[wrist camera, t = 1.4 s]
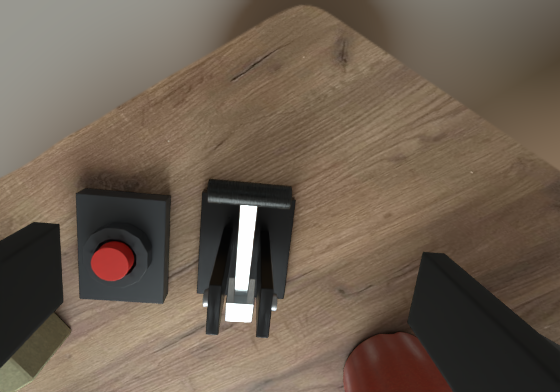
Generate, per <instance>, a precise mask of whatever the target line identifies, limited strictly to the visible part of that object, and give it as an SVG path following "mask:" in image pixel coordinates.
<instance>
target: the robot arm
mask: <svg viewBox="0 0 560 392" xmlns="http://www.w3.org/2000/svg"><path fill="white" fill-rule="evenodd" d="M62 303H63V285H62V266H61V246H60V227H59V224H52V223H39V222H33V223H31V224H30V225H28V226H26V227H24V228H22V229H21V230H19V231H17V232H15V233H14V234H12V235H10V236H8V237H6V238H5V239H3V240H1V241H0V368H1V367H2V366H3V365H4V364H5V363H6V362H7V361H8V360H9V359H10V358H11V357H12V356H13V355H14V354H15V352H16V351H17V350H18V349H19V348H20V347H21V346H22V345H23V344H24V343H25V342H26V341H27V340H28V339H29V338H30V337H31V336H32V335H33V333H34V332H35V331H36V330H37V329H38V328H39V327H40V326H41V325H42V324H43V323H44V322H45V321H46V320H47V319H48V318H49V317H50V315H51V314H52V313H53V312H54V311H55V310H56V309H57V308H58V307H59V306H60V305H61V304H62ZM407 323H408V324H409V326H410V327H411V329H412V330H413V332H414V333H415V335H416V336H417V338H418V339H419V341H420V342H421V344H422V345H423V347H424V348H425V350H426V351H427V353H428V354H429V356H430V358H431V359H432V361H433V362H434V364H435V365H436V367H437V368H438V370H439V371H440V373H441V374H442V376H443V377H444V379H445V380H446V382H447V383H448V385H449V386H450V388H451V389H452V391H453V392H560V345H558V344H556V343H555V342H553V341H551V340H549V339H548V338H546V337H544V336H542V335H541V334H539V333H538V332H537V331H535V330H534V329H533V328H532V327H531V326H530V325H528V324H527V323H526V322H525V321H524V320H522V319H521V318H520V317H519V316H518V315H517V314H515V313H514V312H513V311H512V310H511V309H509V308H508V307H507V306H506V305H505V304H504V303H502V302H501V301H500V300H499V299H498V298H496V297H495V296H494V295H493V294H492V293H491V292H489V291H488V290H487V289H486V288H485V287H483V286H482V285H481V284H480V283H479V282H477V281H476V280H475V279H474V278H473V277H472V276H470V275H469V274H468V273H467V272H466V271H464V270H463V269H462V268H461V267H460V266H459V265H457V264H456V263H455V262H454V261H453V260H451V259H450V258H449V257H448V256H447V255H446V254H444V253H431V252H423V254H422V259H421V263H420V268H419V272H418V277H417V281H416V286H415V290H414V295H413V299H412V304H411V308H410V313H409V317H408V322H407Z"/></svg>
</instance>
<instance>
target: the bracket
mask: <svg viewBox="0 0 560 392" xmlns="http://www.w3.org/2000/svg"><path fill="white" fill-rule="evenodd" d="M295 201H296V200H295V198H293V197H292V201H291V207H290V209H277V208H265V207H258V210H257V218H256V227H255V236H254V245H253V254H252V263H251V271H250V279H255V280H256V281H255V297H256V337H261V338H268V337H269V328H270V319H271V311H276V308H277V299H284V292H285V283H286V275H287V267H288V259H289V251H290V242H291V234H292V226H293V218H294V210H295ZM239 210H240V205H230V204H219V203H208V202H207V190H204V191H203V192H202V208H201V227H200V245H199V263H198V281H197V293H199V294H204V295H203V307H207V321H206V334H208V335H218V333H219V327H220V321H221V315H222V309H223V303H224V297H225V295H227V290H228V281H229V278H235V270H236V255H237V240H238V225H239Z"/></svg>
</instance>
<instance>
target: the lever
mask: <svg viewBox="0 0 560 392" xmlns="http://www.w3.org/2000/svg"><path fill="white" fill-rule="evenodd" d="M291 201H292V187H291V186H284V185H273V184H262V183H251V182H240V181H229V180H218V179H209V182H208V187H207V202H208V203H219V204H230V205H240V210H239V225H238V240H237V255H236V270H235V278H229V281H228V290H227V298H226V314H225V321H237V322H252V317H253V309H254V298H255V281H256V280H255V279H250V271H251V263H252V254H253V245H254V236H255V227H256V218H257V210H258V207H265V208H277V209H290V207H291Z"/></svg>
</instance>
